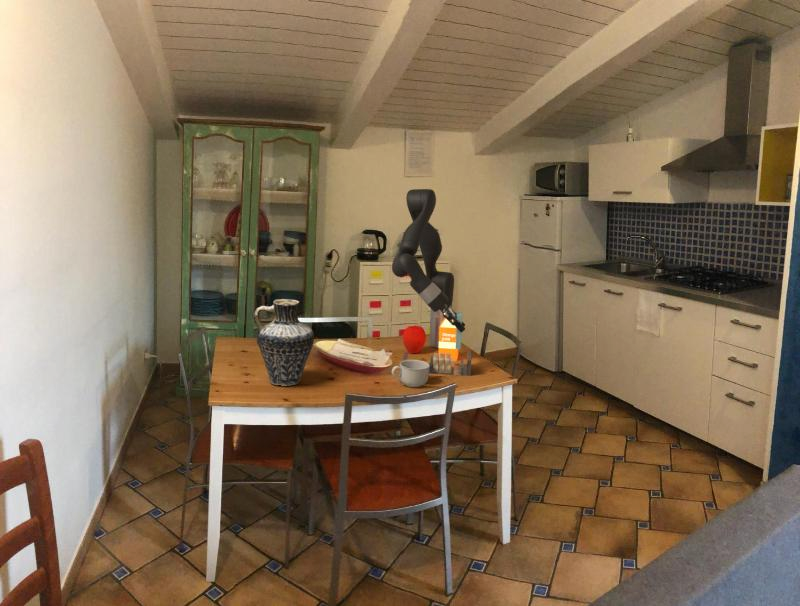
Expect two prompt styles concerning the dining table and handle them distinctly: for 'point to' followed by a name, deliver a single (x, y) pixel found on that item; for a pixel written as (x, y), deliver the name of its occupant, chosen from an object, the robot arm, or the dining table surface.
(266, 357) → the jug
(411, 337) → the apple
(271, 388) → the dining table surface
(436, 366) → the offcut
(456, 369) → the rack
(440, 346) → the orange juice
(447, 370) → the offcut
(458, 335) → the teal board
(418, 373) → the teacup
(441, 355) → the offcut
